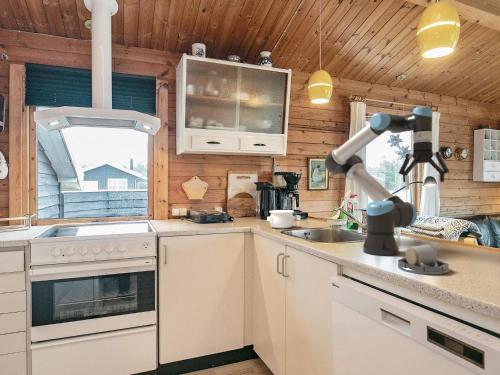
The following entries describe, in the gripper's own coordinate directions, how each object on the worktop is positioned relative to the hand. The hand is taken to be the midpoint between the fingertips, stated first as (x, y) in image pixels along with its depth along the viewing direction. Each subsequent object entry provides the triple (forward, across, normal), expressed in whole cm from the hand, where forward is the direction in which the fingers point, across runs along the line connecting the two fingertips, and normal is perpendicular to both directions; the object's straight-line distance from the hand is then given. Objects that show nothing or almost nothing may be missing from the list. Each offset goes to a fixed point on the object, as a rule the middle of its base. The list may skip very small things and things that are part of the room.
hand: (422, 189), depth 145 cm
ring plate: (+29, +9, -27) cm, 40 cm away
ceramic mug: (+28, +10, -28) cm, 41 cm away
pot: (+29, -103, +21) cm, 109 cm away
